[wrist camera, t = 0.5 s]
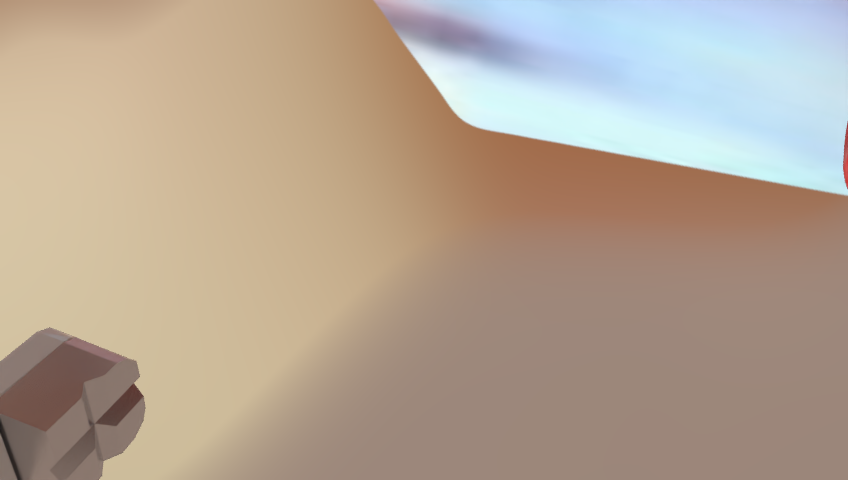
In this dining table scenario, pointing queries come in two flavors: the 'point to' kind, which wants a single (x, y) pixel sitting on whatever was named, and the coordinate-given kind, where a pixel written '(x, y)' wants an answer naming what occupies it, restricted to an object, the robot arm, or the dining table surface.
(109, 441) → the robot arm
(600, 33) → the dining table surface
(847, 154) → the plant pot
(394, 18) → the dining table surface
